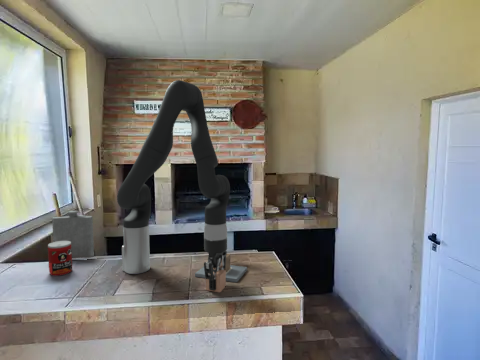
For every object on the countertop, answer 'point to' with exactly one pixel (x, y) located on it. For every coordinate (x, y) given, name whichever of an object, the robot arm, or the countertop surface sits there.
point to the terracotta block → (218, 281)
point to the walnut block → (227, 262)
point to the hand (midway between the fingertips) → (216, 286)
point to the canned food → (60, 257)
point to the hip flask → (75, 233)
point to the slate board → (227, 273)
